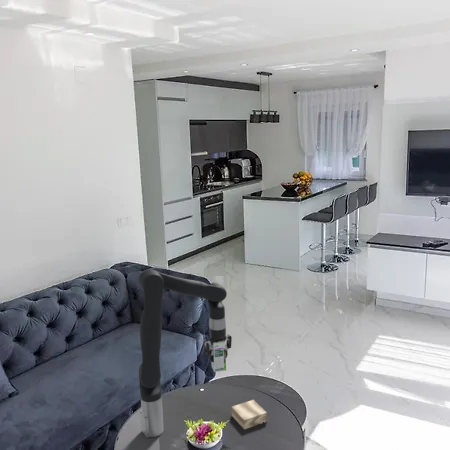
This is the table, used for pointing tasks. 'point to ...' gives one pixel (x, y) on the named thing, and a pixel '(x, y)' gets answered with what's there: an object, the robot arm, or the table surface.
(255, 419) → the birch block
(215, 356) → the syrup box
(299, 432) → the table surface
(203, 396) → the table surface
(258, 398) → the table surface
